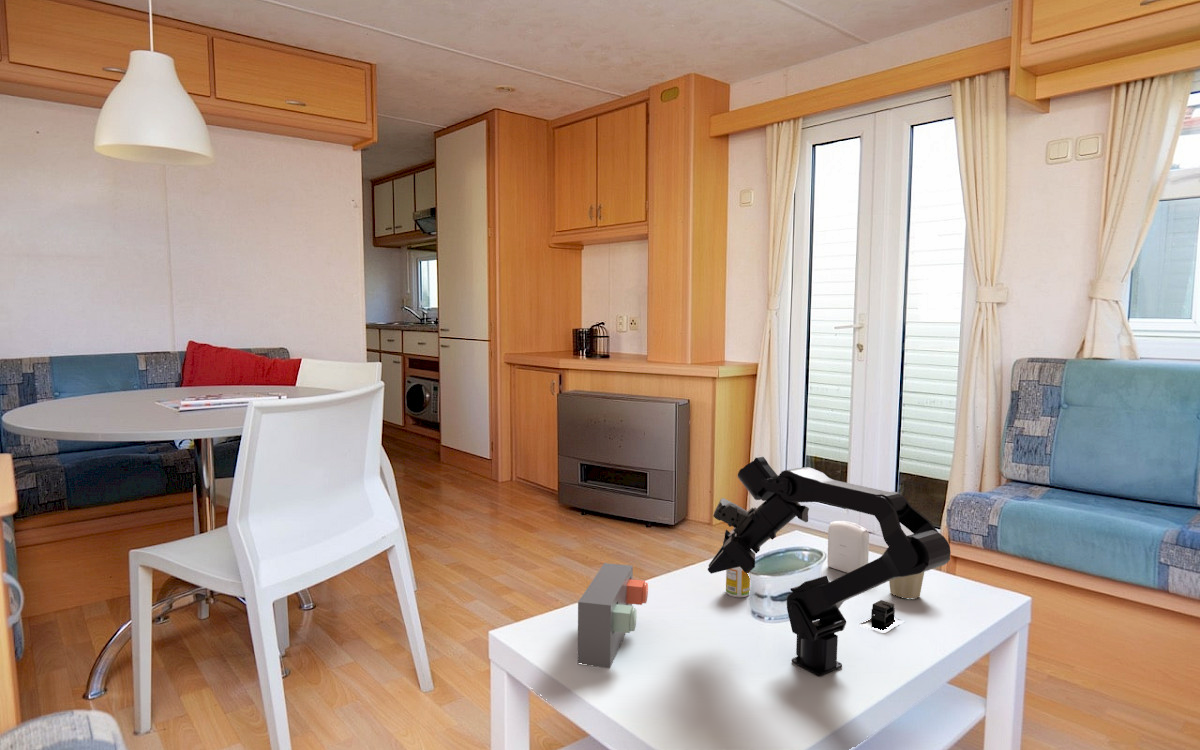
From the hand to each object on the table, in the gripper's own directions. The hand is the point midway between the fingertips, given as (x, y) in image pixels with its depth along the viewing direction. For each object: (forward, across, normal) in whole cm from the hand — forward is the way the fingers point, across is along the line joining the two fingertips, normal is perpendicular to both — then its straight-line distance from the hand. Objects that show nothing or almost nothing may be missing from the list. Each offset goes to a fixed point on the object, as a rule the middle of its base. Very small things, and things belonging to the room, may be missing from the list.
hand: (709, 569), depth 136 cm
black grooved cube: (-14, -16, +35) cm, 41 cm away
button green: (+16, +13, -5) cm, 21 cm away
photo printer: (-12, -46, +32) cm, 57 cm away
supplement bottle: (+6, -24, +13) cm, 28 cm away
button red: (+16, 0, -5) cm, 17 cm away
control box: (+23, +6, -4) cm, 24 cm away
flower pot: (-20, -33, +39) cm, 55 cm away
